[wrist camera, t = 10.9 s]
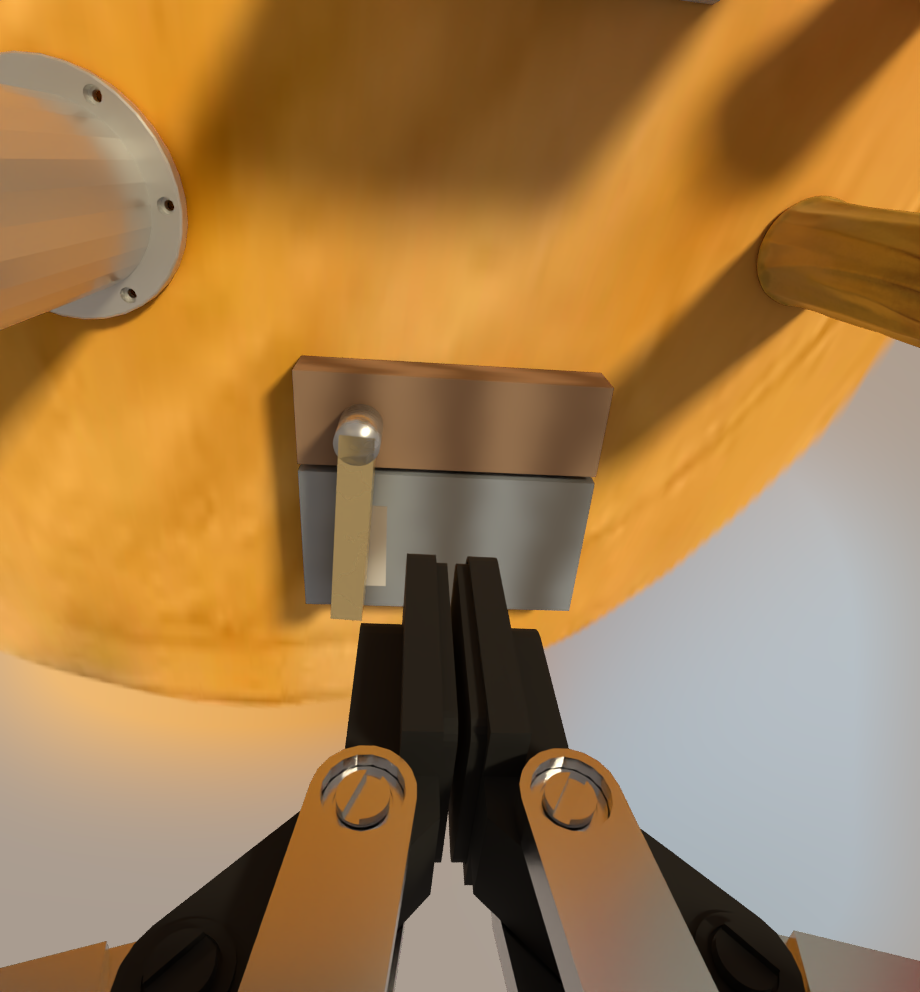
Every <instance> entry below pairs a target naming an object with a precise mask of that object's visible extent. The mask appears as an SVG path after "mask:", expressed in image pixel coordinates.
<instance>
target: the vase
mask: <svg viewBox="0 0 920 992" xmlns="http://www.w3.org/2000/svg"><path fill="white" fill-rule="evenodd" d="M757 273H758V278H759V281H760V284H761V286H762V288H763V290H764V292H765V293H766V294H767V295H768V296H769V297H770V298H772V299H773V300H775V301H776V302H778V303H780V304H783V305H785V306H798V307H801V308H805V309H808V310H811V311H815V312H818V313H821V314H823V315H825V316H828V317H830V318H833V319H836V320H840V321H843V322H846V323H849V324H852V325H855V326H858V327H861V328H865V329H868V330H871V331H875V332H879V333H882V334H884V335H886V336H888V337H891V338H893V339H896V340H899V341H902V342H905V343H907V344H910V345H913V346H916V347H919V348H920V213H917V212H908V211H900V210H891V209H880V208H872V207H865V206H860V205H855V204H850V203H847V202H845V201H843V200H840V199H838V198H834V197H830V196H815V197H811V198H808V199H805V200H803V201H801V202H798V203H796V204H795V205H793V206H791V207H790V208H788V209H787V210H786V211H784V212H783V213H782V214H781V215H780V216H779V217H778V218H777V219H776V220H775V222H774V223H773V224H772V225H771V227H770V228H769V230H768V231H767V233H766V235H765V237H764V238H763V241H762V243H761V246H760V249H759V253H758V258H757Z"/></svg>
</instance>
